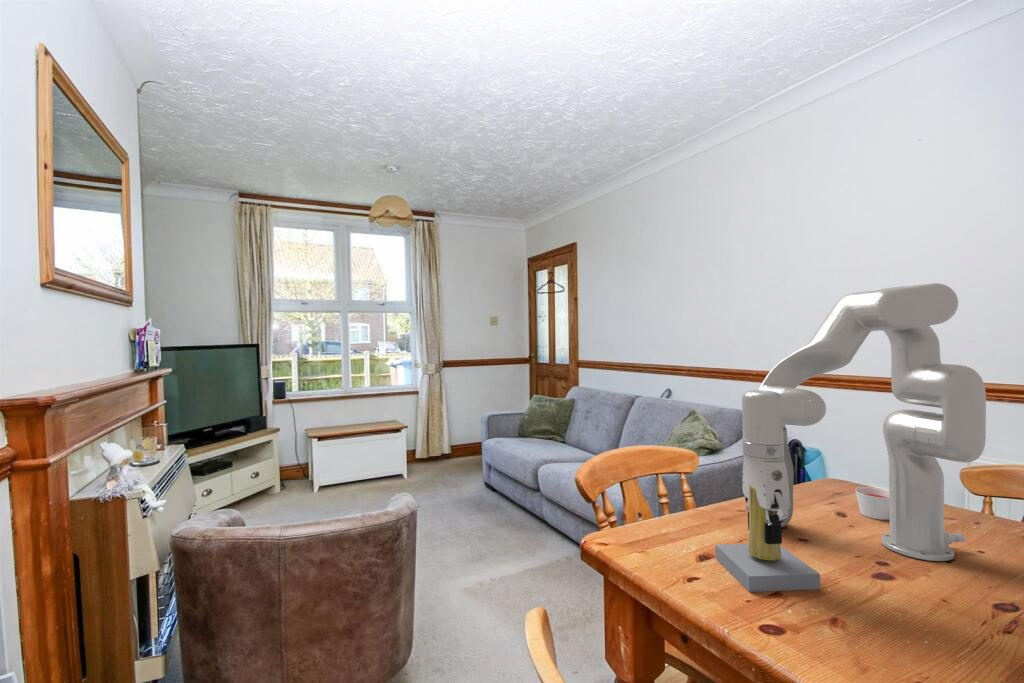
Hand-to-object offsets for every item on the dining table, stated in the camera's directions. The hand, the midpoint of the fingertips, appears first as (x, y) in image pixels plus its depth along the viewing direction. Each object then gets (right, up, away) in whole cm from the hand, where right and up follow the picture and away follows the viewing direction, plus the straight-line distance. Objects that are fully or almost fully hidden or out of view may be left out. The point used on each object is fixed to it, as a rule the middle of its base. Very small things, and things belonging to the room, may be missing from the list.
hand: (764, 535), depth 98 cm
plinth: (0, -8, 0) cm, 8 cm away
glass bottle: (+14, -7, +23) cm, 28 cm away
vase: (0, -4, 0) cm, 4 cm away
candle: (+46, -7, +30) cm, 55 cm away
